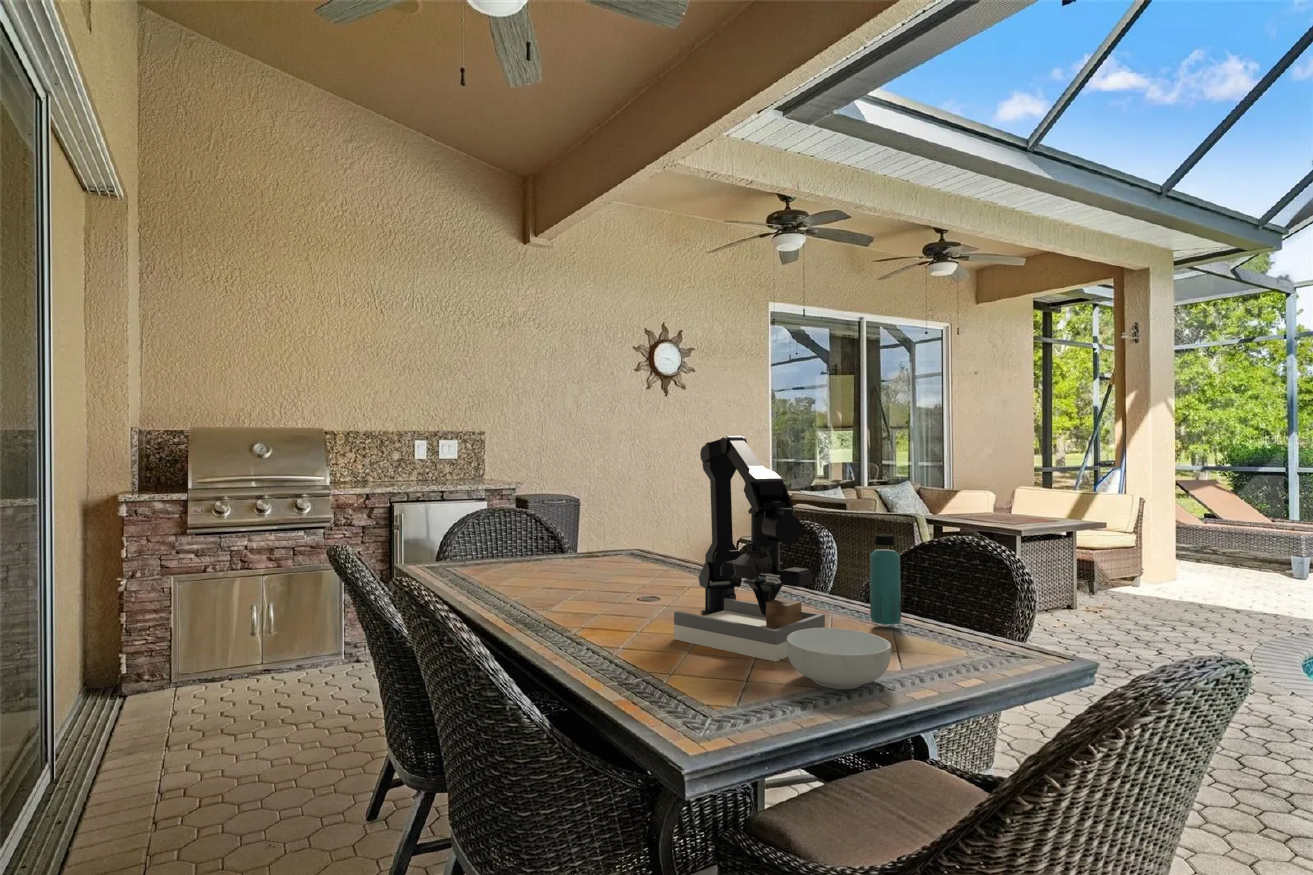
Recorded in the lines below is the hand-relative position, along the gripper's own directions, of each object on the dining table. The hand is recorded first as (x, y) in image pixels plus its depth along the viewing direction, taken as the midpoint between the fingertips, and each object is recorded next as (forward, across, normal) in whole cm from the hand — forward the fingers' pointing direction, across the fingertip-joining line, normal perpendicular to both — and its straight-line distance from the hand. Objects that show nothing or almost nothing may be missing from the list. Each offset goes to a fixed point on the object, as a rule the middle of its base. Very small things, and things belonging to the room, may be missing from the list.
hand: (765, 615), depth 155 cm
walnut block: (+2, +4, 0) cm, 5 cm away
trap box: (+5, -2, -3) cm, 6 cm away
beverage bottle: (+5, +14, +25) cm, 29 cm away
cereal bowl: (+5, +24, -15) cm, 29 cm away
